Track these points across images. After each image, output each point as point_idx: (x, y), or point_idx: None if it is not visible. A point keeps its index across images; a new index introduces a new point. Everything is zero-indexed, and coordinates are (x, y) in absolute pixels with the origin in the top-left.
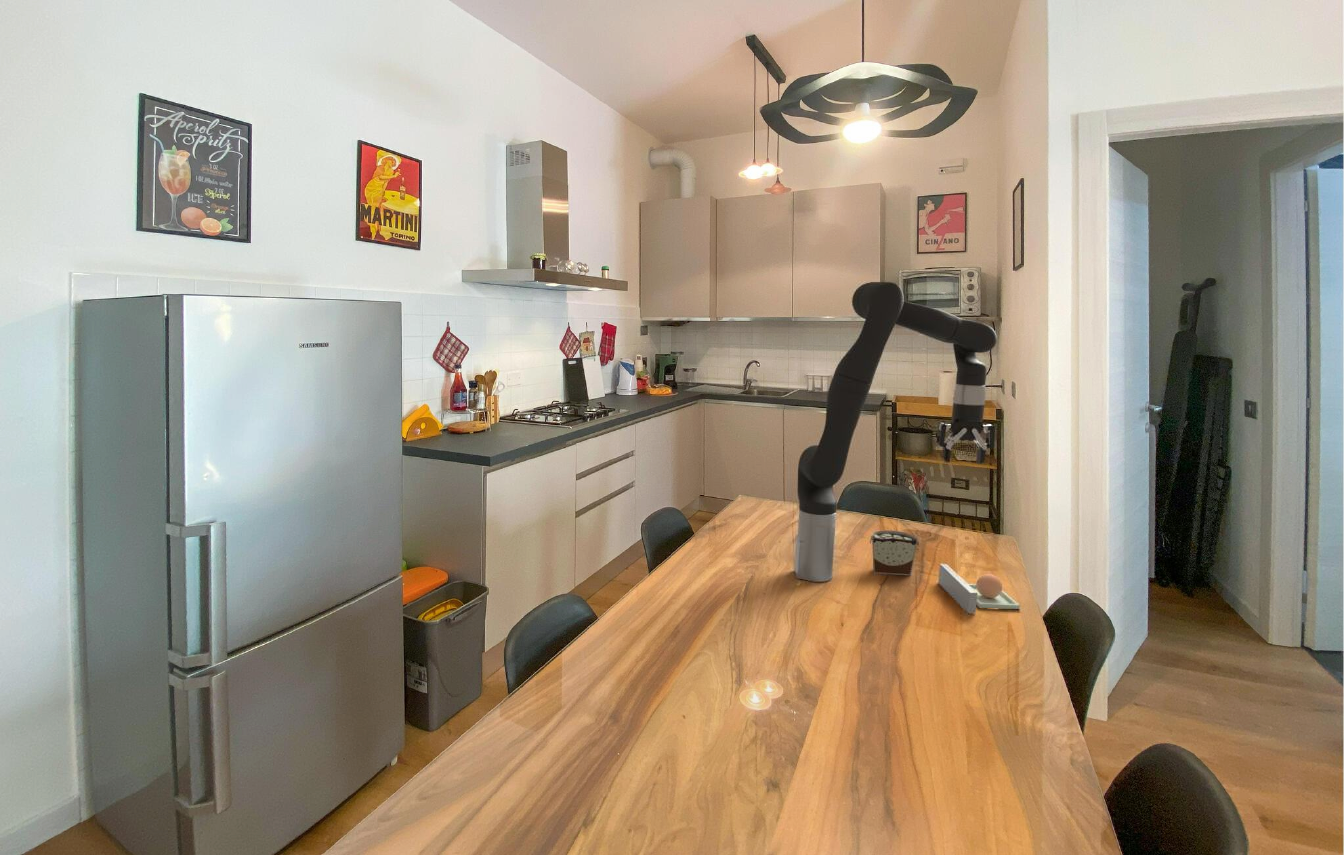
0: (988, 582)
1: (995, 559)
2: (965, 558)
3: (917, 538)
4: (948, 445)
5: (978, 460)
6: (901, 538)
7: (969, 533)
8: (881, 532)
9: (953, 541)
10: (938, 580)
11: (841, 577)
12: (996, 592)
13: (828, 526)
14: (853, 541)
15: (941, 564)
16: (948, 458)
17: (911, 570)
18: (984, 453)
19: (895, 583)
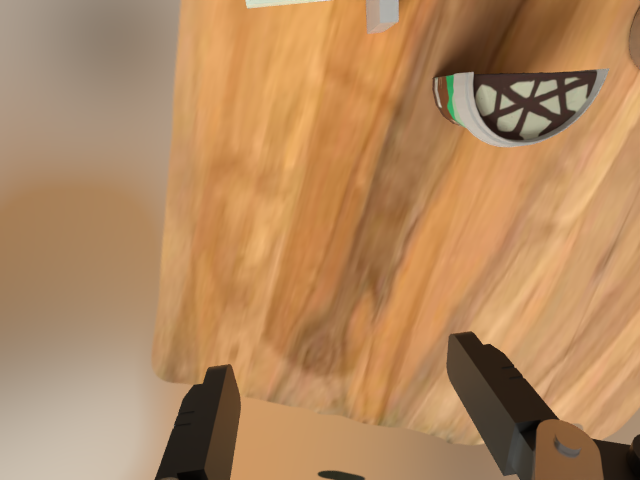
0: None
1: (199, 235)
2: (267, 227)
3: (473, 72)
4: (576, 457)
5: (231, 396)
6: (506, 95)
7: None
8: (550, 133)
9: (267, 327)
10: (384, 30)
11: (608, 25)
12: None
13: None
14: (483, 279)
15: (395, 14)
16: (479, 351)
17: (437, 77)
18: (173, 450)
19: (492, 5)
